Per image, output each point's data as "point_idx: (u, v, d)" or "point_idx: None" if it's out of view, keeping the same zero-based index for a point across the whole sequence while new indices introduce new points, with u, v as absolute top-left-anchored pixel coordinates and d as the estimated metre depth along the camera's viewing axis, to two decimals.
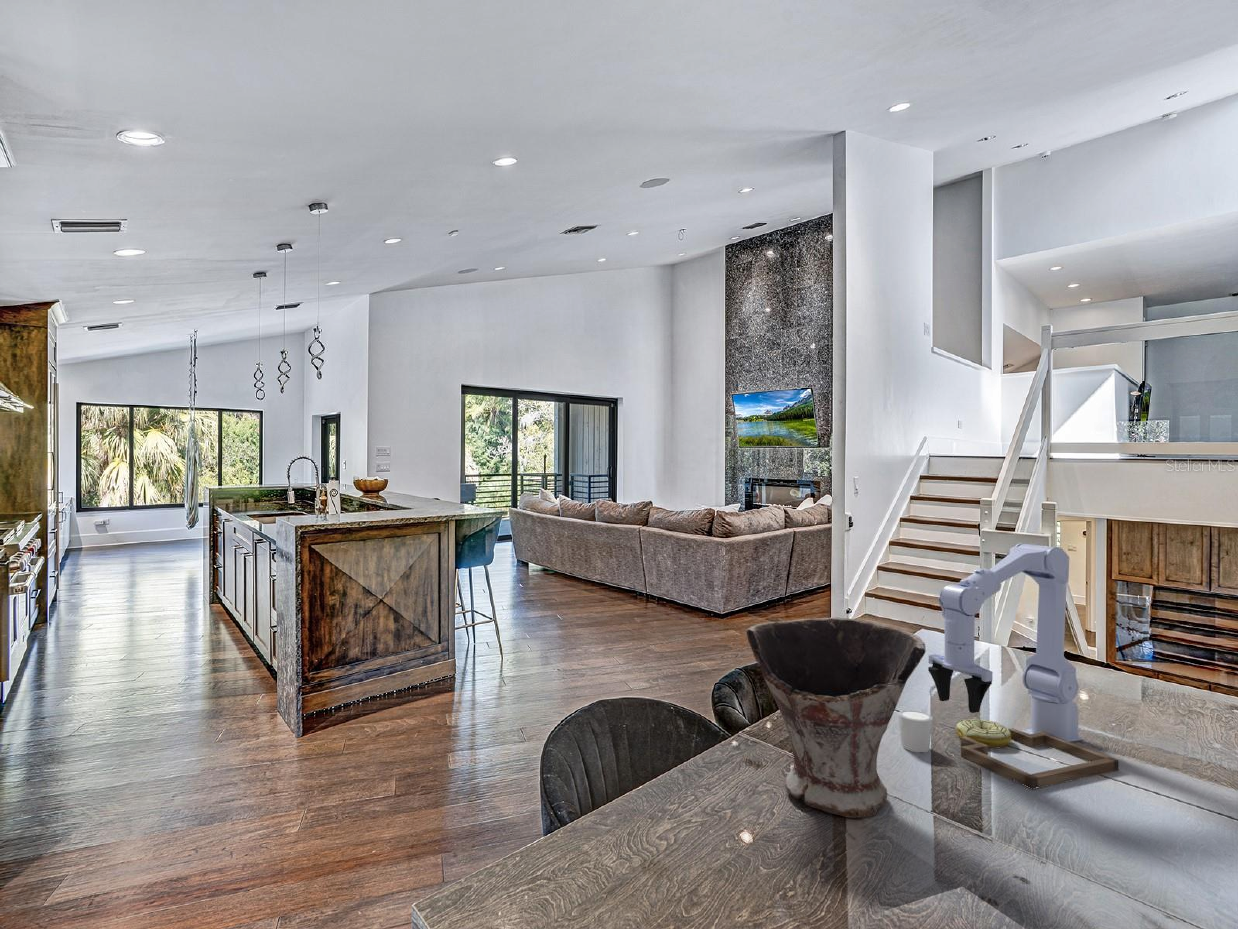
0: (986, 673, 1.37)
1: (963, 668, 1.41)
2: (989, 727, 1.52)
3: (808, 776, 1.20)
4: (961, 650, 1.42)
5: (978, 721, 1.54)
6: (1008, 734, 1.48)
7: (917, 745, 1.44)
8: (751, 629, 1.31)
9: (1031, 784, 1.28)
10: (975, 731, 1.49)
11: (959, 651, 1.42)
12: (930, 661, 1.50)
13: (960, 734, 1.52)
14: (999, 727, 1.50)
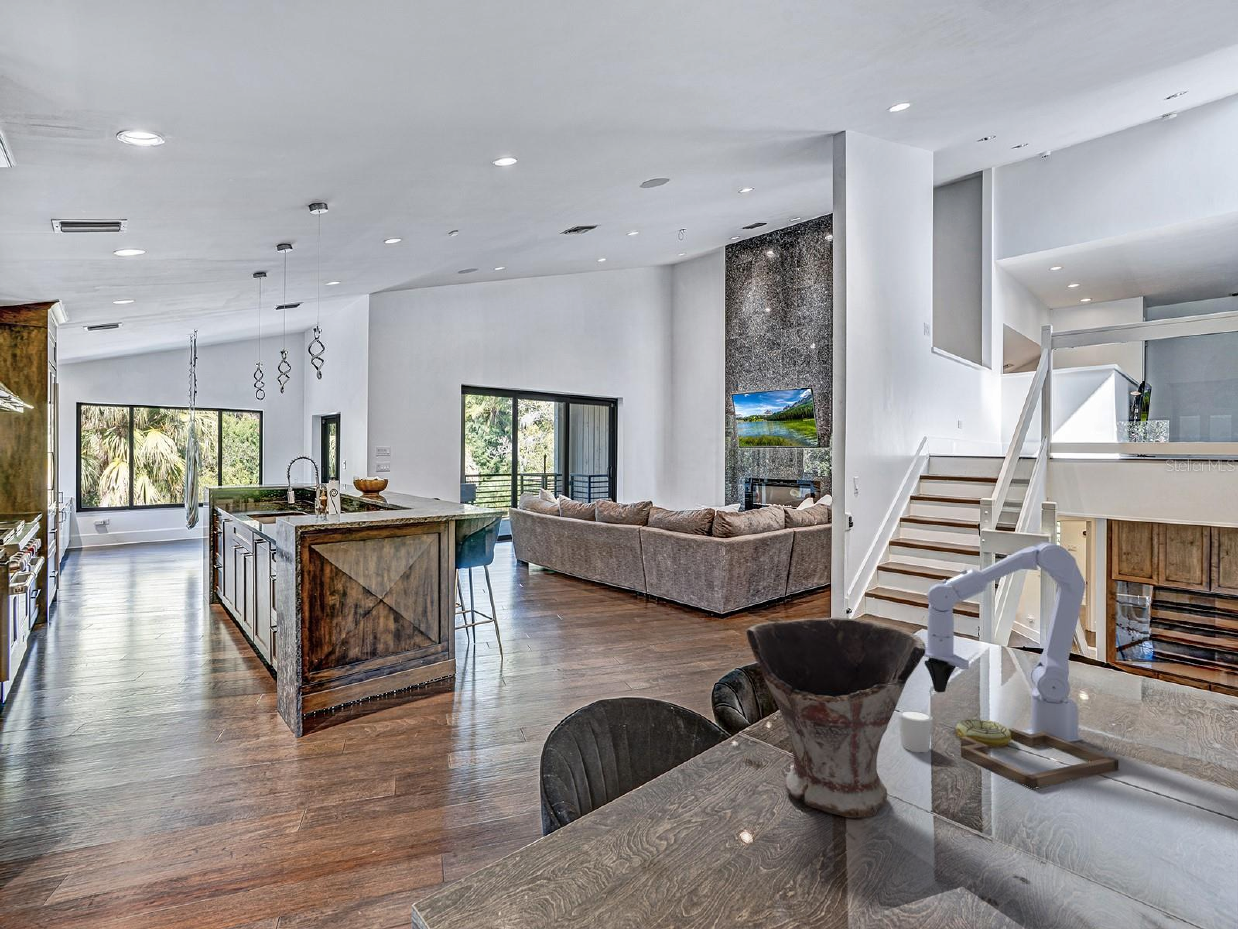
0: (963, 662, 1.56)
1: (943, 657, 1.60)
2: (989, 727, 1.52)
3: (808, 776, 1.20)
4: (942, 642, 1.61)
5: (978, 721, 1.54)
6: (1008, 734, 1.48)
7: (917, 745, 1.44)
8: (751, 629, 1.31)
9: (1031, 784, 1.28)
10: (975, 730, 1.49)
11: (940, 642, 1.61)
12: None
13: (960, 734, 1.52)
14: (999, 727, 1.50)
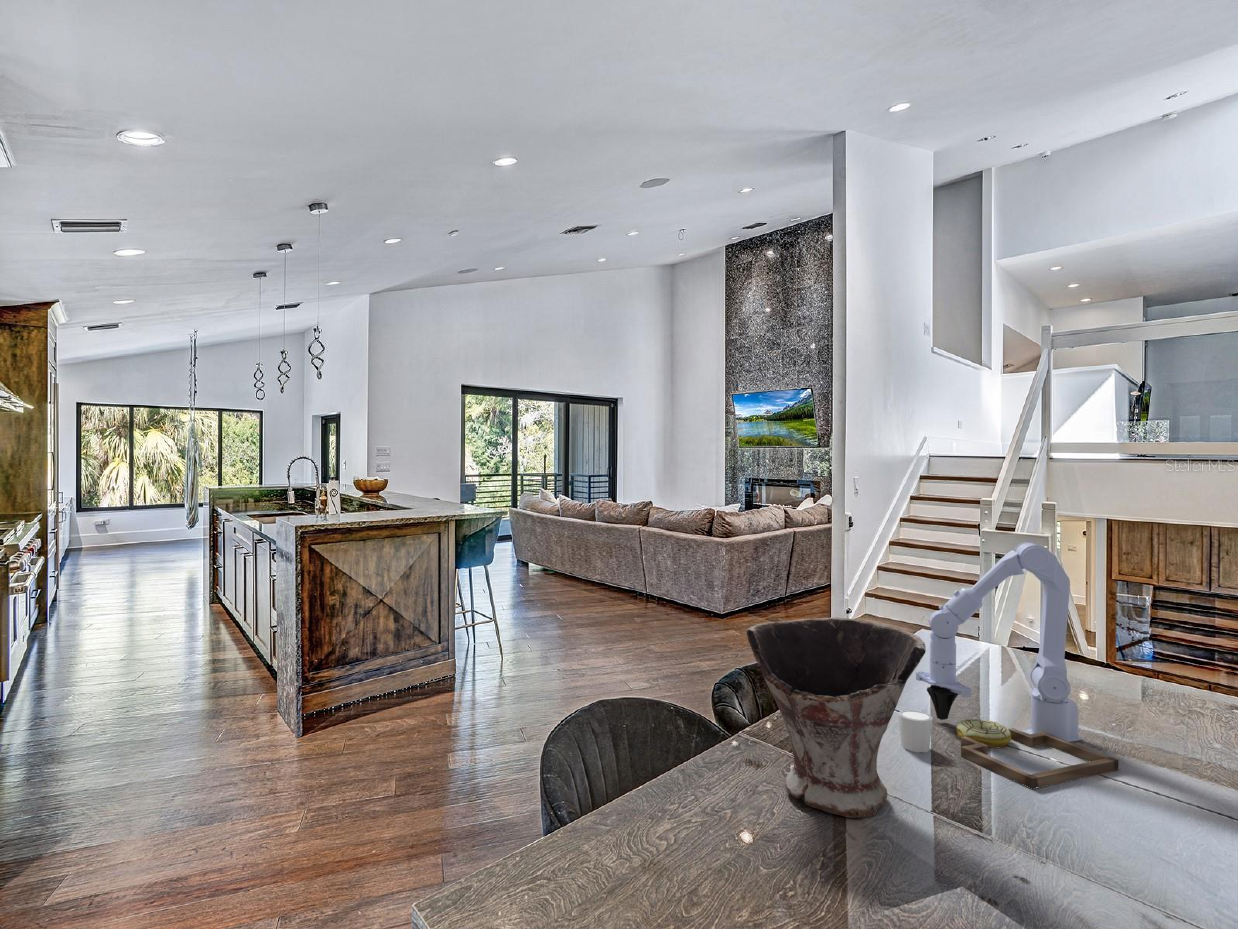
0: (965, 690, 1.56)
1: (946, 685, 1.59)
2: (989, 727, 1.52)
3: (808, 776, 1.20)
4: (944, 669, 1.60)
5: (978, 721, 1.54)
6: (1008, 734, 1.48)
7: (917, 745, 1.44)
8: (751, 629, 1.31)
9: (1031, 784, 1.28)
10: (975, 731, 1.49)
11: (942, 670, 1.60)
12: (917, 678, 1.68)
13: (960, 734, 1.52)
14: (999, 727, 1.50)
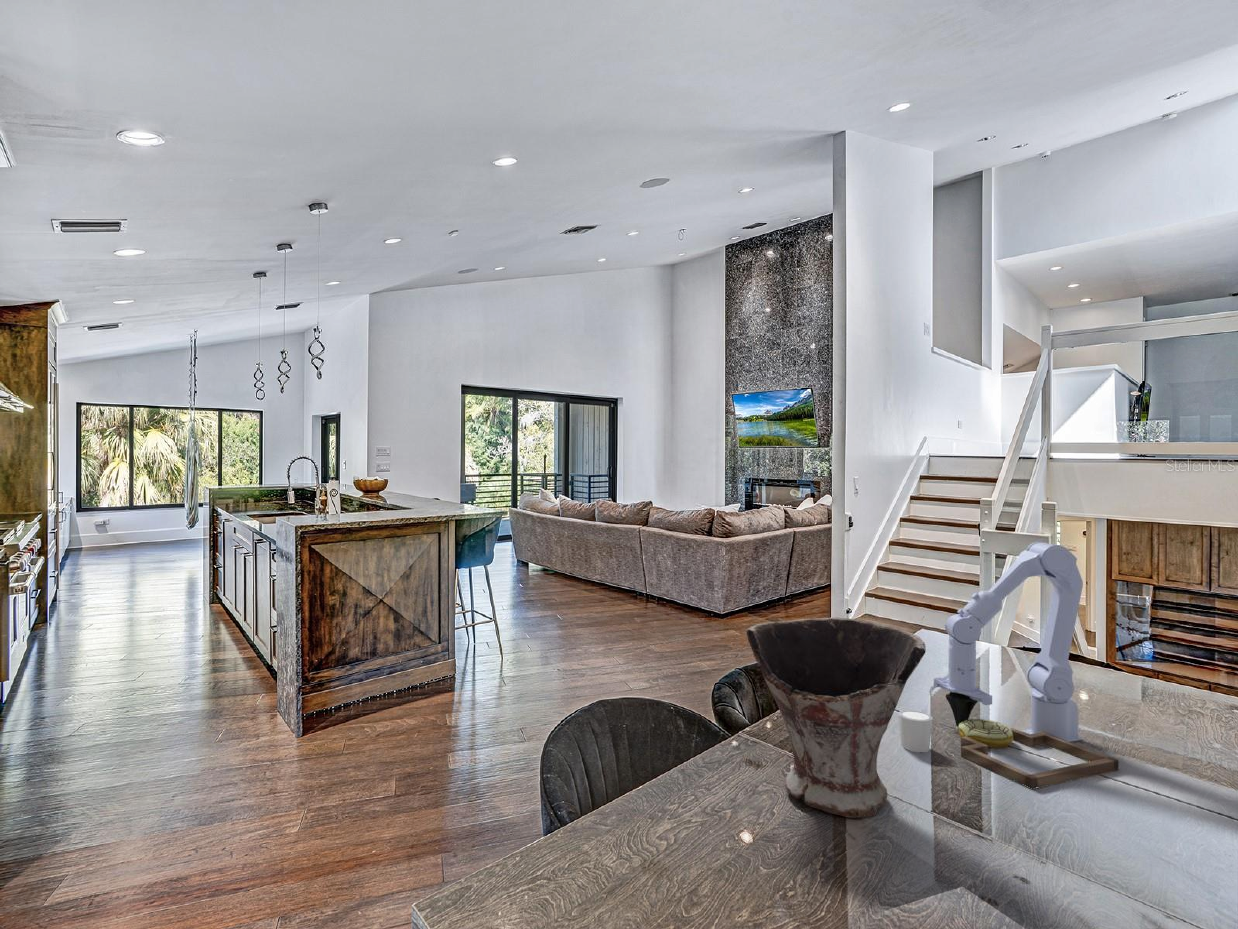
0: (986, 697, 1.50)
1: (965, 692, 1.54)
2: (991, 727, 1.52)
3: (808, 776, 1.20)
4: (963, 675, 1.55)
5: (980, 721, 1.54)
6: (1010, 734, 1.47)
7: (917, 745, 1.44)
8: (751, 629, 1.31)
9: (1031, 784, 1.28)
10: (977, 731, 1.49)
11: (962, 676, 1.55)
12: (935, 684, 1.63)
13: (962, 734, 1.51)
14: (1001, 727, 1.50)
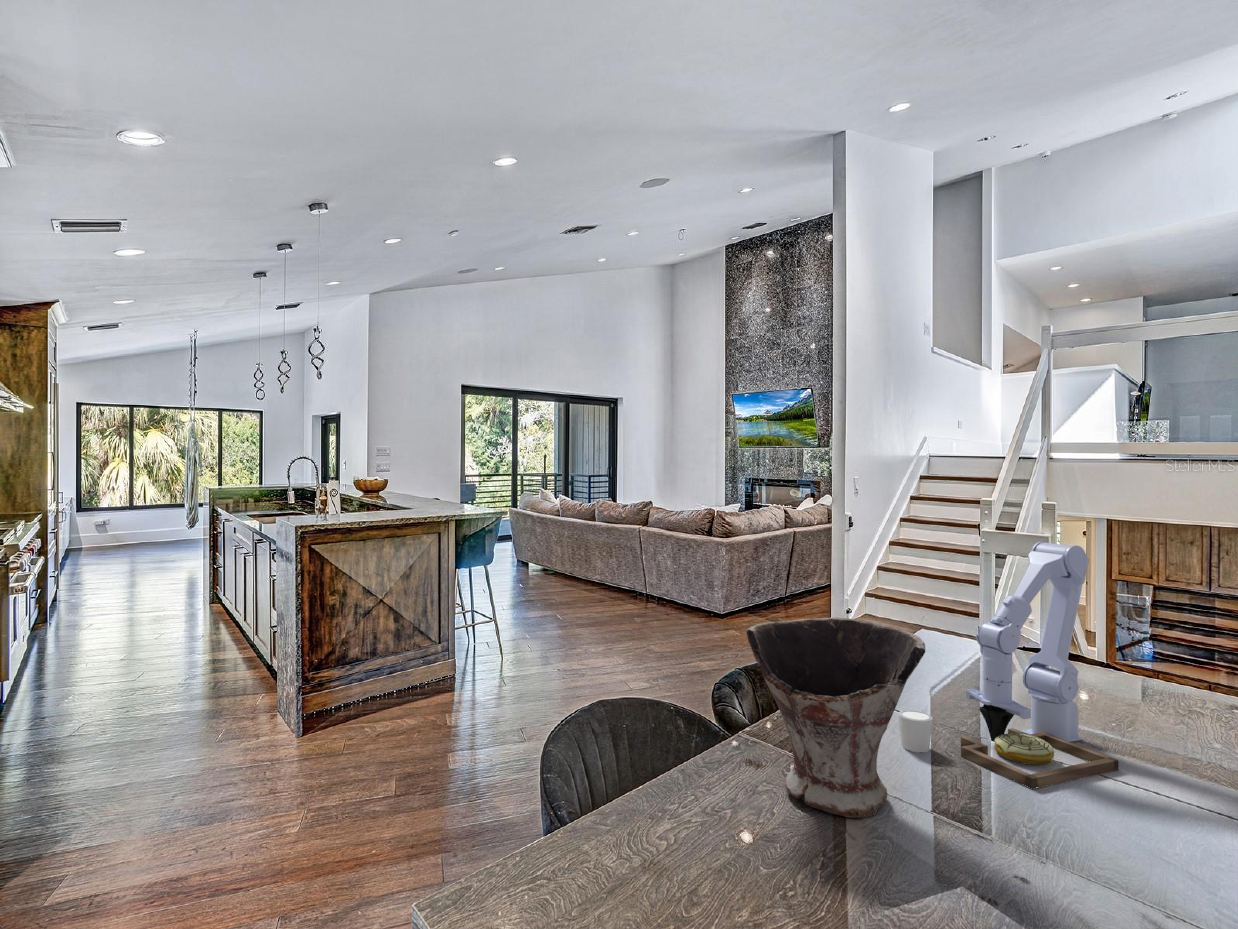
0: (1025, 711, 1.42)
1: (1002, 705, 1.45)
2: (1029, 742, 1.43)
3: (808, 776, 1.20)
4: (999, 687, 1.46)
5: (1017, 736, 1.45)
6: (1051, 750, 1.39)
7: (917, 745, 1.44)
8: (751, 629, 1.31)
9: (1031, 784, 1.28)
10: (1017, 747, 1.40)
11: (997, 688, 1.46)
12: (967, 696, 1.55)
13: (1000, 750, 1.42)
14: (1041, 742, 1.41)
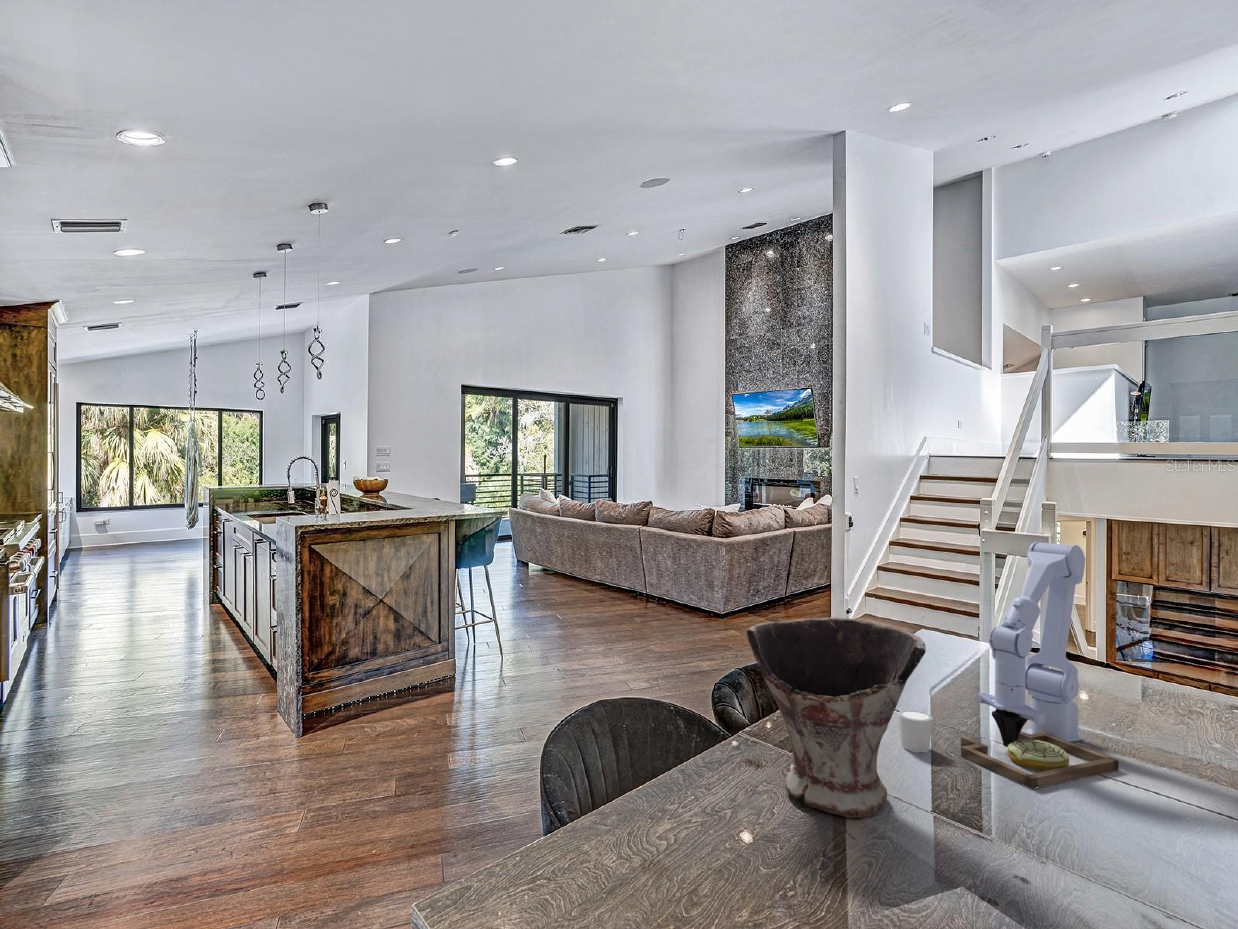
0: (1039, 716, 1.39)
1: (1015, 710, 1.42)
2: (1044, 749, 1.40)
3: (808, 776, 1.20)
4: (1013, 692, 1.43)
5: (1031, 742, 1.42)
6: (1066, 757, 1.36)
7: (917, 745, 1.44)
8: (751, 629, 1.31)
9: (1031, 784, 1.28)
10: (1031, 754, 1.37)
11: (1011, 692, 1.44)
12: (979, 700, 1.52)
13: (1013, 757, 1.39)
14: (1055, 749, 1.38)
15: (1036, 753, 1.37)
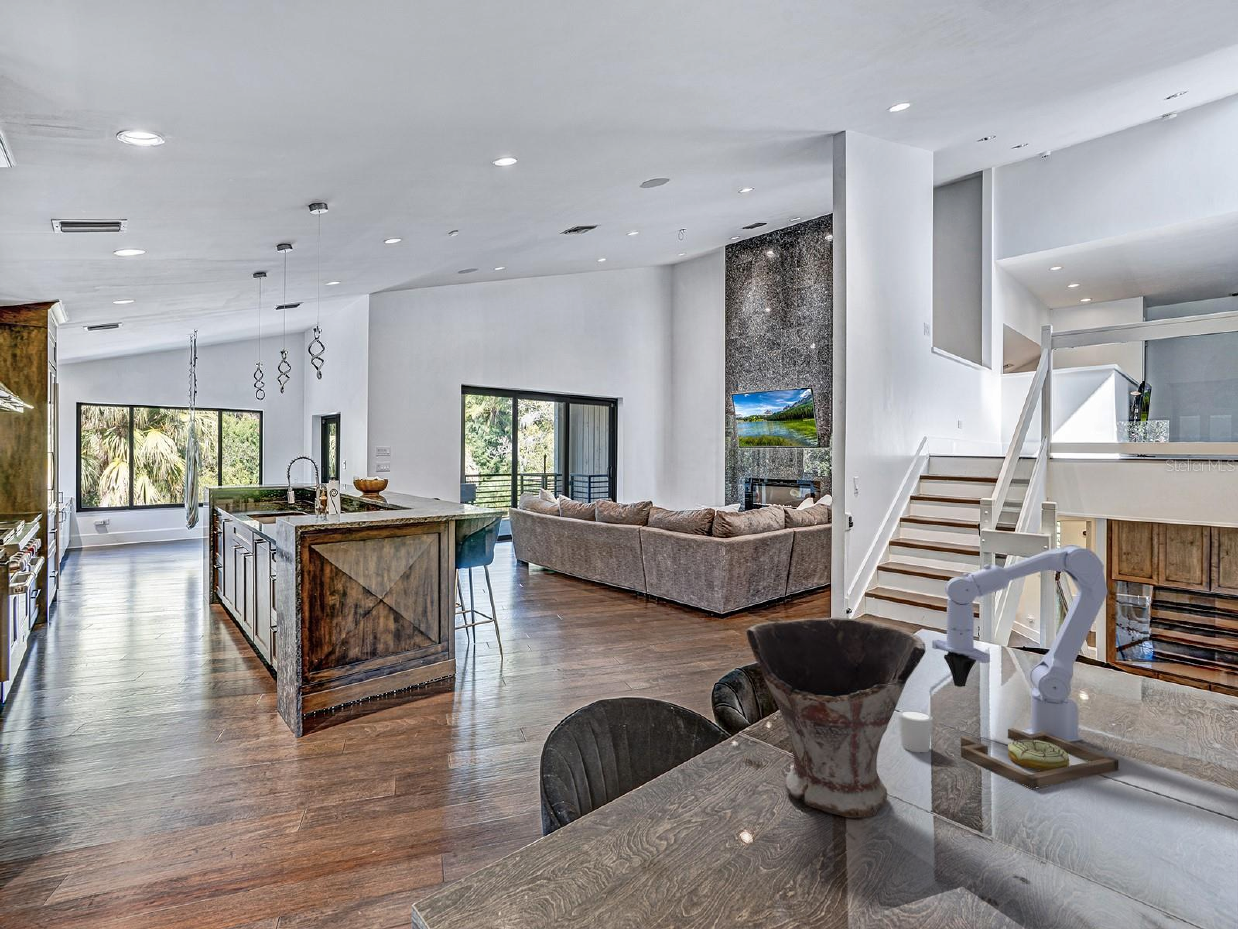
0: (984, 655, 1.54)
1: (964, 651, 1.57)
2: (1044, 749, 1.40)
3: (808, 776, 1.20)
4: (962, 635, 1.58)
5: (1031, 742, 1.42)
6: (1066, 757, 1.36)
7: (917, 745, 1.44)
8: (751, 629, 1.31)
9: (1031, 784, 1.28)
10: (1031, 754, 1.37)
11: (960, 636, 1.59)
12: (934, 646, 1.67)
13: (1013, 757, 1.39)
14: (1055, 749, 1.38)
15: (1036, 753, 1.37)
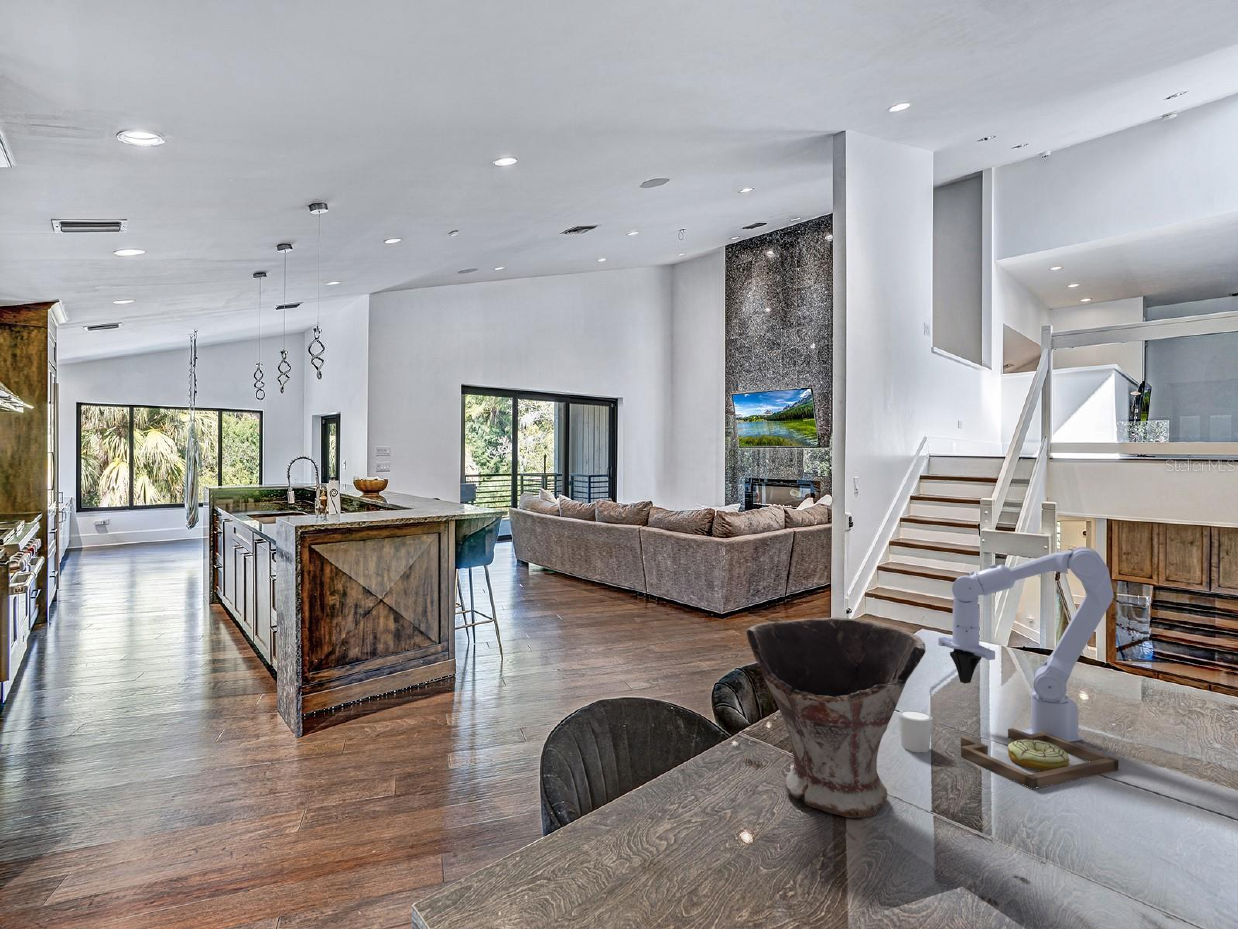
0: (989, 652, 1.57)
1: (969, 648, 1.60)
2: (1044, 749, 1.40)
3: (808, 776, 1.20)
4: (967, 633, 1.61)
5: (1031, 742, 1.42)
6: (1066, 757, 1.36)
7: (917, 745, 1.44)
8: (751, 629, 1.31)
9: (1031, 784, 1.28)
10: (1031, 754, 1.37)
11: (966, 633, 1.61)
12: (940, 643, 1.69)
13: (1013, 757, 1.39)
14: (1055, 749, 1.38)
15: (1036, 753, 1.37)
